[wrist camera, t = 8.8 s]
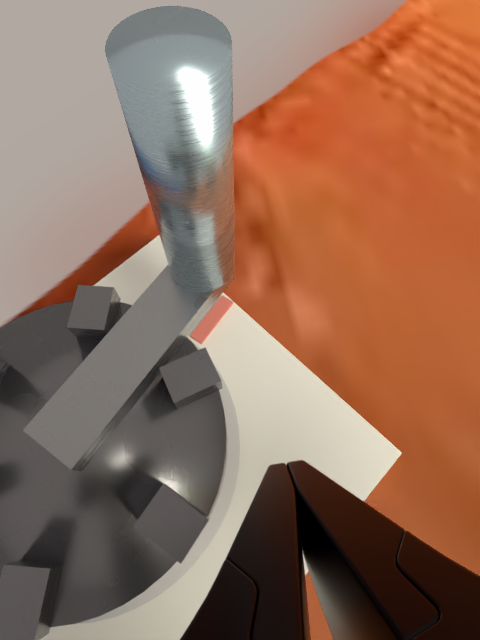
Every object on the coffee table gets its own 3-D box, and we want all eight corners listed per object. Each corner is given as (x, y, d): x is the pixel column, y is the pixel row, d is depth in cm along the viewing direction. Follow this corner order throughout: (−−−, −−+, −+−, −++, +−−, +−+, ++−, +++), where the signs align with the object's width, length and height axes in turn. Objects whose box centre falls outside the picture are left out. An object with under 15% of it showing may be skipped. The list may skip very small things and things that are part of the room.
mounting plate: (394, 455, 19) (420, 447, 17) (89, 837, 14) (54, 918, 11) (161, 244, 24) (152, 212, 21) (-130, 472, 19) (-192, 468, 16)
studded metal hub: (105, 687, 13) (-463, 1496, 3) (-109, 483, 16) (-856, 450, 5) (324, 342, 18) (449, 115, 8) (135, 228, 21) (23, -66, 10)
